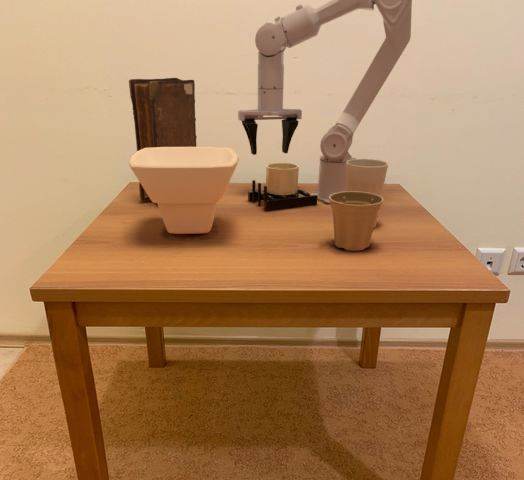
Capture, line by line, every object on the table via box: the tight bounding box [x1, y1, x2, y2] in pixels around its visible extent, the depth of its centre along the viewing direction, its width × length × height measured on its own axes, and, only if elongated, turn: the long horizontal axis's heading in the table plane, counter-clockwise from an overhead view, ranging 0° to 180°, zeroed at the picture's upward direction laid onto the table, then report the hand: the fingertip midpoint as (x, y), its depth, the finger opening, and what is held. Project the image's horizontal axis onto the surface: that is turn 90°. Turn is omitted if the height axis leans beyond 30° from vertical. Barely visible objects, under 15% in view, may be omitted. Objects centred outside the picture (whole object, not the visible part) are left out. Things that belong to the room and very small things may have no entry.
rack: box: [247, 179, 318, 212], centre depth 116 cm, size 13×10×5 cm
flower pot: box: [329, 191, 385, 252], centre depth 91 cm, size 9×9×9 cm
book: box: [128, 77, 197, 203], centre depth 114 cm, size 17×7×25 cm, turn 144°
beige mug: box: [265, 162, 300, 195], centre depth 116 cm, size 11×7×6 cm, turn 24°
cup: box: [346, 158, 389, 228], centre depth 101 cm, size 8×8×12 cm
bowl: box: [128, 146, 239, 235], centre depth 96 cm, size 19×19×14 cm
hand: (269, 153), depth 120 cm, fingers open, 7 cm apart
